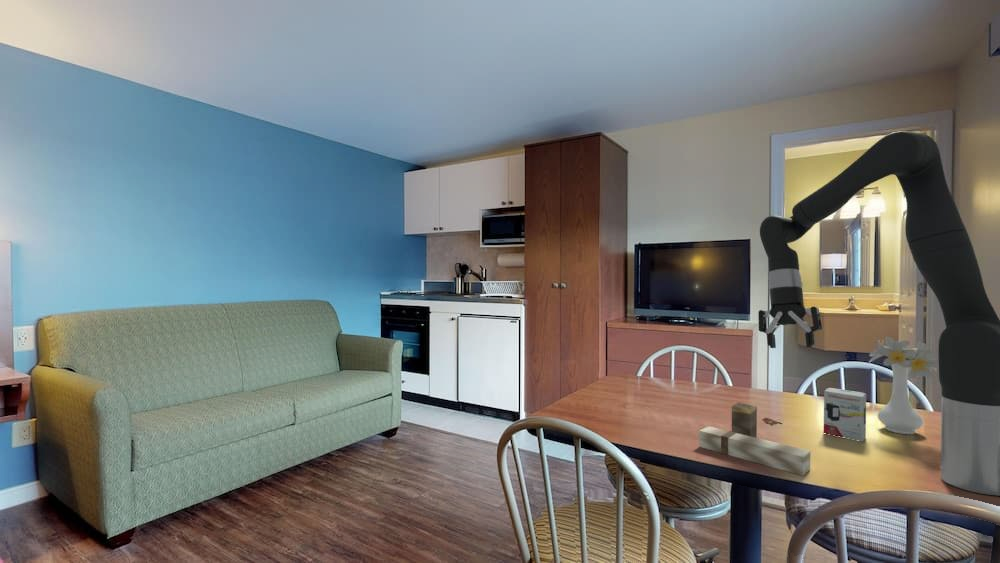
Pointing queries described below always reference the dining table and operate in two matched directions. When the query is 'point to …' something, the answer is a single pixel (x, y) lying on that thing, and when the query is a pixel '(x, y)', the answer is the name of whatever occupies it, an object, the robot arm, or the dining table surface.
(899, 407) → the flower vase
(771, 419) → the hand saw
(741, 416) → the brown rectangular block
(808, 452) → the board
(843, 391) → the ink box
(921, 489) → the dining table surface
